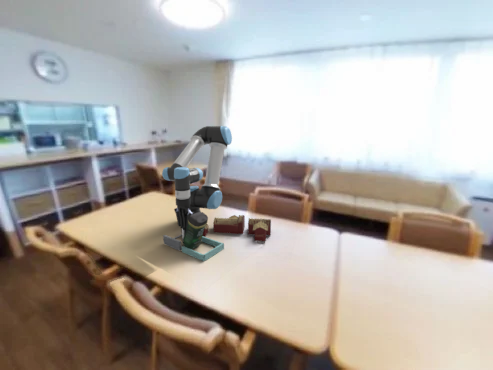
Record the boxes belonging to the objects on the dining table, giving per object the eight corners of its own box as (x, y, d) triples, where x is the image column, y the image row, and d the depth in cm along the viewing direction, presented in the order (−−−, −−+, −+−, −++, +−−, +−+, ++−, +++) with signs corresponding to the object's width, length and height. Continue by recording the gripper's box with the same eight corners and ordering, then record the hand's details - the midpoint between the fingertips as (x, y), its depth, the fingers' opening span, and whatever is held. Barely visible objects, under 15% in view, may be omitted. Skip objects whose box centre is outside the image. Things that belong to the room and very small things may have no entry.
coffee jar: (190, 252, 120) (198, 222, 113) (179, 243, 123) (186, 214, 116) (202, 244, 128) (211, 216, 121) (192, 236, 131) (200, 208, 124)
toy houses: (270, 227, 150) (271, 212, 147) (270, 242, 130) (270, 225, 127) (201, 224, 155) (200, 210, 152) (190, 239, 135) (189, 222, 132)
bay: (184, 234, 140) (183, 218, 137) (200, 240, 132) (199, 223, 130) (163, 244, 128) (162, 227, 126) (179, 250, 121) (178, 233, 119)
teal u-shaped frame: (202, 240, 132) (202, 235, 131) (224, 248, 123) (223, 243, 122) (181, 251, 120) (181, 246, 119) (204, 261, 111) (203, 255, 110)
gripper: (169, 197, 123) (171, 238, 128) (185, 201, 115) (187, 245, 121) (180, 193, 129) (183, 234, 134) (197, 198, 121) (198, 240, 127)
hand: (185, 239), depth 127 cm, fingers closed
